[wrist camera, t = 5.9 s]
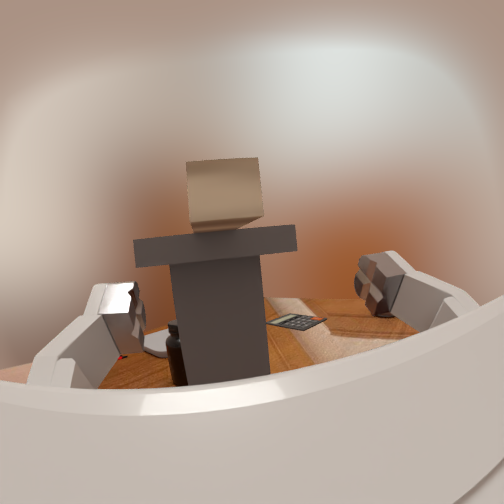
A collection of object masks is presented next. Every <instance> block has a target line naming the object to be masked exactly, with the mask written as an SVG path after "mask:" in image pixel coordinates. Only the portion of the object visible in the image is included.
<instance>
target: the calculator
mask: <svg viewBox="0 0 504 504" xmlns="http://www.w3.org/2000/svg"><path fill="white" fill-rule="evenodd" d="M325 320H327V318H322V317H314V316H306V315H298V314H287V315H284V316H282V317H279V318H276V319H274V320H271V321H268V322H266V324H269V325H274V326H279V327H284V328H290V329H295V330H301V331H305V330H307V329H309V328H311V327H313V326H315V325H317V324H319V323H321V322H323V321H325Z"/></svg>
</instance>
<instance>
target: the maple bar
mask: <svg viewBox="0 0 504 504" xmlns="http://www.w3.org/2000/svg"><path fill="white" fill-rule="evenodd" d="M186 171H187V188H188V202H189V214H190V223H191V226H192V229H193V232H194V233H204V232H214V231H224V230H235V229H238V228H240V227H242V226H244V225H246V224H248V223H250V222H252V221H254V220H256V219H258V218H260V217H262V216H264V211H263V201H262V191H261V182H260V172H259V164H258V158H235V159H218V160H204V161H193V162H186Z"/></svg>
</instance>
